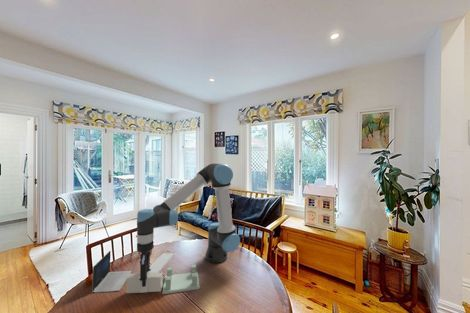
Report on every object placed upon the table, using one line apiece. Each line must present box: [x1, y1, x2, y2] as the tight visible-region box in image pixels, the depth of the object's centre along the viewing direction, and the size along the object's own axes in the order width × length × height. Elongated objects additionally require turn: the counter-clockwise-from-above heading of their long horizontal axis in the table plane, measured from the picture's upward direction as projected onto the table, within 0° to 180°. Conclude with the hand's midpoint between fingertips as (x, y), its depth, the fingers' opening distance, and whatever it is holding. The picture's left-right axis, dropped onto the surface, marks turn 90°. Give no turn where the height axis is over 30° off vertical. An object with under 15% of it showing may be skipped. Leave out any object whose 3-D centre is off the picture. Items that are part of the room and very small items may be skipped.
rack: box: [161, 264, 200, 295], centre depth 107 cm, size 18×14×6 cm
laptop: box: [91, 250, 132, 294], centre depth 108 cm, size 18×12×13 cm
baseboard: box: [148, 250, 175, 273], centre depth 124 cm, size 30×3×10 cm
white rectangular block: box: [125, 271, 164, 294], centre depth 99 cm, size 16×4×7 cm, turn 96°
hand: (145, 288), depth 99 cm, fingers closed on white rectangular block, 4 cm apart
